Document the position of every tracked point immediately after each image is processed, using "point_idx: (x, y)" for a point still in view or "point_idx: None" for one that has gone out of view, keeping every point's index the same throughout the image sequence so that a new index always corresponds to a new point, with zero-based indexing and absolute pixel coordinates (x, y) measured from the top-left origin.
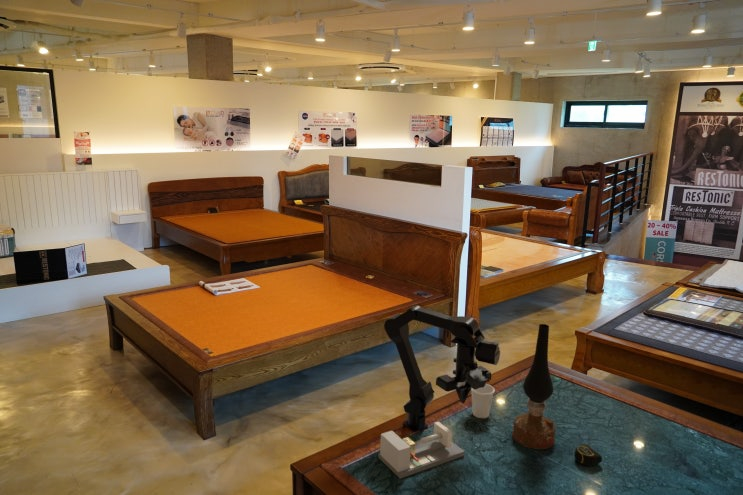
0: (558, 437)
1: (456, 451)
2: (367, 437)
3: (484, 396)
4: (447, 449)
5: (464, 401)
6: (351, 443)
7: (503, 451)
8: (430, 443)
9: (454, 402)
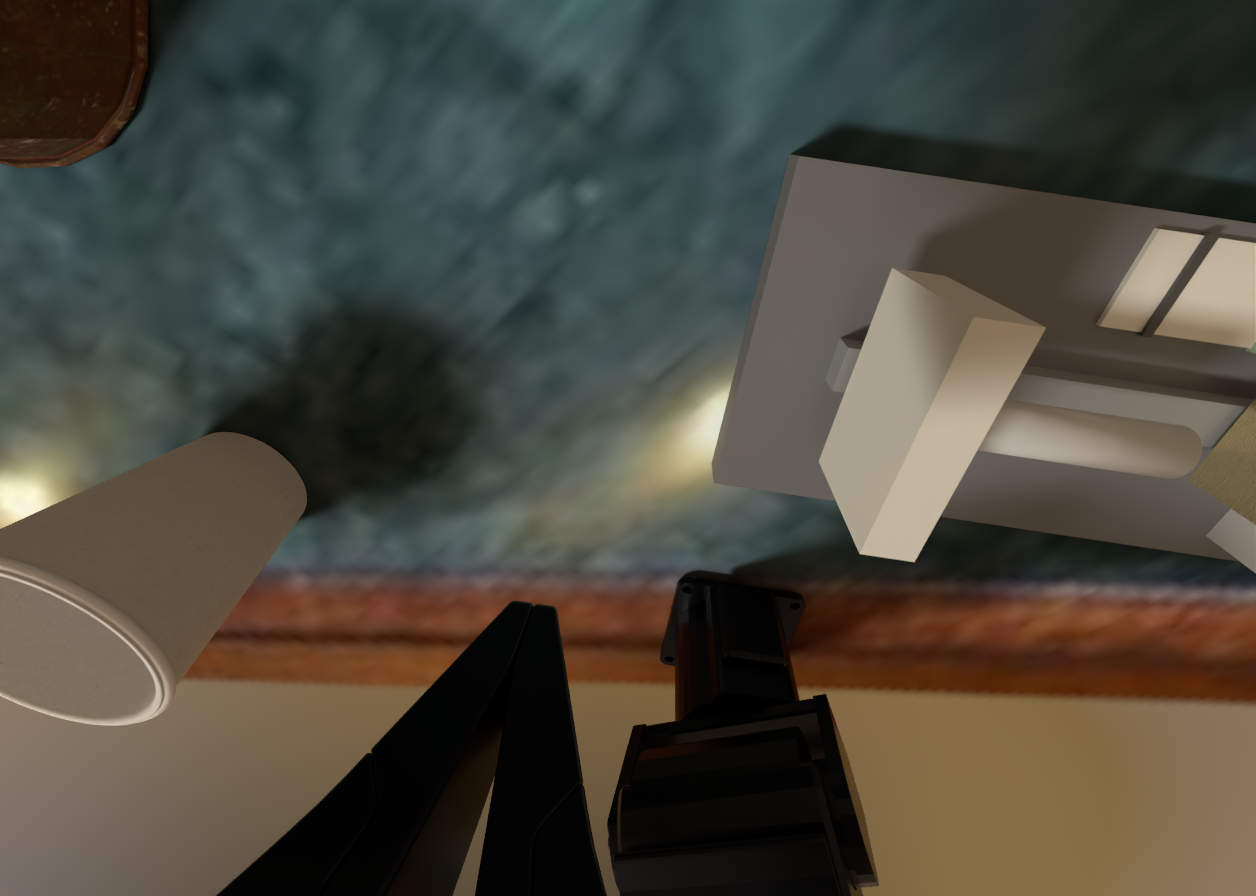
0: None
1: (862, 207)
2: (1048, 688)
3: (87, 567)
4: None
5: (515, 620)
6: (1167, 699)
7: None
8: None
9: (342, 639)
